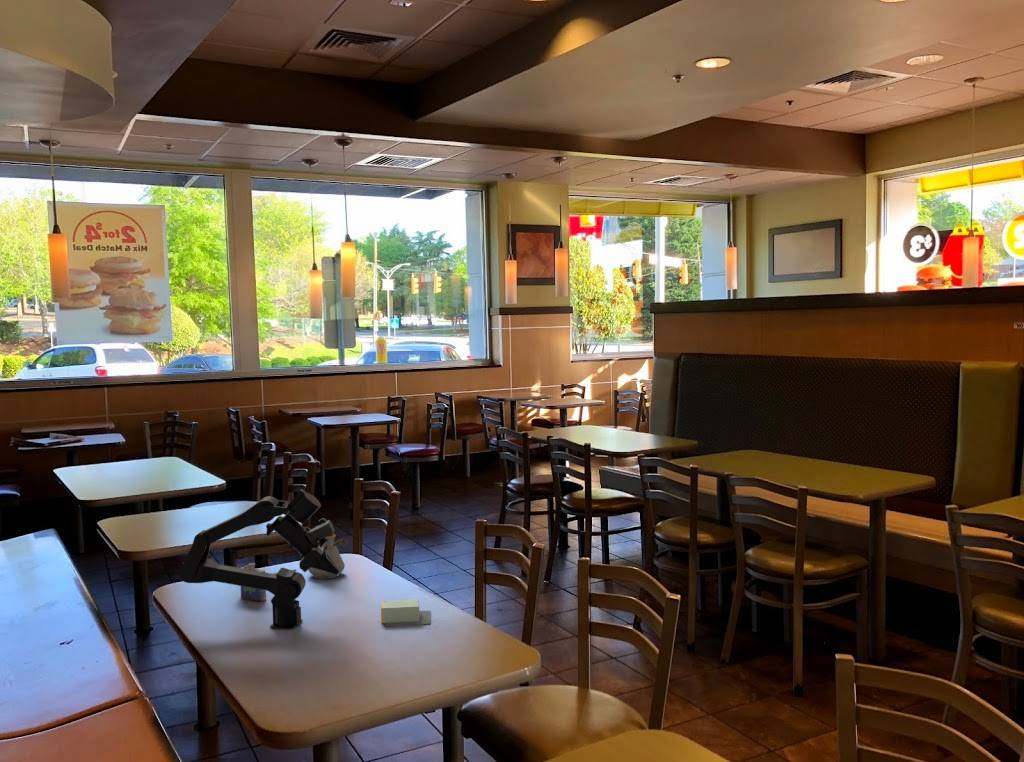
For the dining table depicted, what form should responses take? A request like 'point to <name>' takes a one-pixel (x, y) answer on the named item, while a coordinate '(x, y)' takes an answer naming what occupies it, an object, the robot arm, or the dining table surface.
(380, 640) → the dining table surface
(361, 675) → the dining table surface
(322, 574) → the coffee pot
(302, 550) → the robot arm
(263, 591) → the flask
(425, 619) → the mat
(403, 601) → the block
